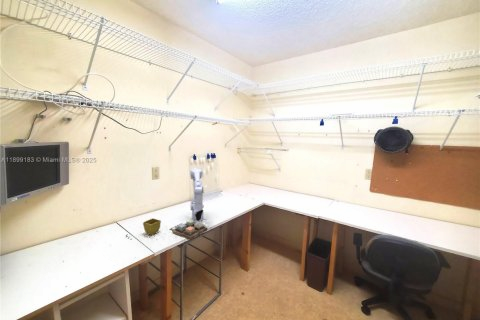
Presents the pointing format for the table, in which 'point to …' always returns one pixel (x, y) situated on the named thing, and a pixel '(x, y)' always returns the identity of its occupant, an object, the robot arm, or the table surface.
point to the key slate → (181, 226)
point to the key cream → (198, 224)
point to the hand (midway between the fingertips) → (198, 219)
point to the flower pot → (152, 226)
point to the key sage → (190, 222)
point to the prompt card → (174, 227)
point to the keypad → (189, 235)
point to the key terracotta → (190, 229)
